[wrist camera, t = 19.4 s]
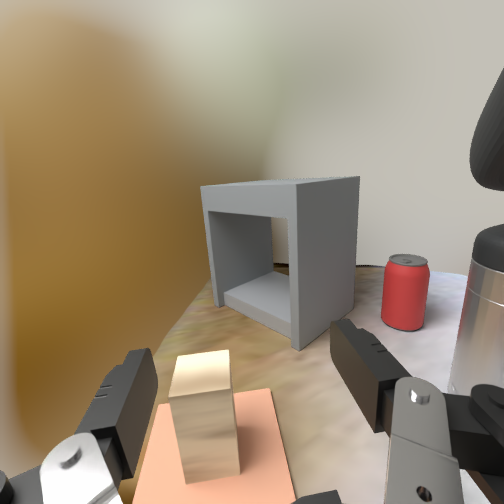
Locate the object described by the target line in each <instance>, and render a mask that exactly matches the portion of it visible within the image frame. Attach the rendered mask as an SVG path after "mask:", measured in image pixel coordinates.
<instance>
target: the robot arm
mask: <svg viewBox="0 0 504 504" xmlns="http://www.w3.org/2000/svg"><path fill="white" fill-rule="evenodd" d="M470 168H471V172H472V175H473V177H474V178H475V180H476V181H477V182H478V183H479V184H480V185H481V186H483V187H485V188H488V189H493V190H498V191H504V68H503V70H502V72H501V74H500V76H499V78H498V80H497V82H496V84H495V86H494V88H493V90H492V92H491V94H490V96H489V98H488V100H487V103H486V105H485V107H484V109H483V112H482V114H481V116H480V118H479V121H478V124H477V126H476V129H475V132H474V136H473V139H472V143H471V149H470ZM330 353H331V357H332V361H333V363H334V365H335V367H336V368H337V370H338V372H339V373H340V375H341V377H342V379H343V380H344V382H345V384H346V385H347V387H348V389H349V391H350V392H351V394H352V396H353V397H354V399H355V401H356V403H357V404H358V406H359V408H360V409H361V411H362V413H363V415H364V416H365V418H366V420H367V421H368V423H369V425H370V426H371V428H372V430H373V432H374V433H379V432H384V431H385V432H386V433H387V435H388V436H389V438H390V439H389V450H388V461H387V472H386V483H385V494H384V504H464V499H463V492H462V484H461V477H460V470H459V469H464V470H466V471H467V472H468V474H469V475H470V476H471V478H472V479H473V480H474V482H475V483H476V484H477V486H478V487H479V488H480V490H481V491H482V492H483V494H484V495H485V496H486V498H487V499H488V500H489V502H490V503H491V504H504V224H501V225H497V226H493V227H490V228H487V229H485V230H483V231H481V232H480V233H479V234H478V235H477V237H476V239H475V242H474V247H473V253H472V259H471V264H470V270H469V275H468V281H467V287H466V292H465V298H464V303H463V308H462V314H461V319H460V325H459V330H458V335H457V341H456V346H455V352H454V357H453V362H452V367H451V373H450V378H449V384H448V394H446V393H441V391H440V390H439V389H438V388H437V387H435V386H434V385H433V384H431V383H429V382H427V381H425V380H423V379H420V378H416V377H412V376H411V375H410V374H409V373H408V372H407V370H406V369H405V368H404V367H403V366H402V365H401V364H400V363H399V362H398V361H397V360H396V359H395V357H394V356H393V355H392V354H391V353H390V352H388V351H387V349H386V348H385V347H384V346H383V344H382V345H381V342H380V341H379V340H378V339H377V338H376V337H375V336H374V335H373V334H371V333H370V332H368V331H366V330H365V329H363V328H361V329H357V328H356V327H355V325H354V324H353V323H352V322H351V321H350V320H349V319H343V320H336V321H331V324H330ZM157 389H158V378H157V374H156V370H155V366H154V362H153V358H152V354H151V351H150V349H149V348H146V349H139V350H132V351H129V353H128V354H127V356H126V359H125V360H124V363H123V364H122V365H117V366H116V367H114V368H113V370H111V371H110V372H109V374H107V375H106V377H105V379H104V381H103V383H102V384H101V386H100V389H99V390H98V391H97V393H96V395H95V399H93V401H92V402H91V404H90V406H89V408H88V410H87V412H86V414H85V415H84V417H83V419H82V421H81V423H80V425H79V426H78V428H77V430H76V432H75V434H74V435H73V436H71V437H69V438H67V439H65V440H64V441H62V442H61V443H60V444H59V445H57V446H56V447H55V448H54V449H53V450H52V451H51V452H50V453H49V454H48V456H47V457H46V458H45V460H44V462H43V463H42V464H41V465H40V466H37V467H35V468H33V469H31V470H29V471H27V472H24V473H22V474H20V475H17V476H15V477H13V478H11V479H8V478H7V477H6V475H5V473H4V472H3V471H1V470H0V504H122V502H121V499H120V497H119V494H118V492H117V491H118V488H119V485H120V482H121V480H125V479H130V478H133V477H134V473H135V470H136V466H137V463H138V459H139V455H140V452H141V448H142V445H143V441H144V437H145V434H146V430H147V427H148V423H149V419H150V416H151V412H152V409H153V405H154V401H155V398H156V394H157ZM291 504H342V503H341V500H340V497H339V495H338V492H337V490H333V491H328V492H323V493H318V494H313V495H309V496H304V497H301V498H299V499H298V500H296V501H294V502H292V503H291Z"/></svg>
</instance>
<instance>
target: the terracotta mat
mask: <svg viewBox="0 0 504 504" xmlns="http://www.w3.org/2000/svg"><path fill="white" fill-rule="evenodd" d="M234 402H235V411H236V420H237V432H238V447H239V463H240V475H238V476H232V477H226V478H221V479H215V480H209V481H203V482H198V483H192V484H186V483H185V478H184V473H183V468H182V464H181V459H180V454H179V449H178V444H177V439H176V434H175V429H174V424H173V419H172V414H171V409H170V404H169V403H167V404H160V405H159V406H158V409H157V413H156V417H155V421H154V424H153V428H152V432H151V436H150V439H149V443H148V447H147V451H146V454H145V458H144V462H143V466H142V469H141V473H140V477H139V481H138V485H137V488H136V492H135V496H134V500H133V503H132V504H291V503H292V502H294V501H296V499H295V495H294V490H293V486H292V482H291V478H290V473H289V469H288V465H287V461H286V456H285V452H284V448H283V444H282V439H281V435H280V431H279V426H278V422H277V418H276V414H275V409H274V405H273V401H272V397H271V392H270V388H267V389H260V390H254V391H247V392H240V393H234Z"/></svg>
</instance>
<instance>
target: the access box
mask: <svg viewBox="0 0 504 504" xmlns="http://www.w3.org/2000/svg"><path fill="white" fill-rule="evenodd" d="M359 185H360V176H354V177H329V178H308V179H307V178H306V179H282V180H262V181H252V182H241V183H231V184H222V185H210V186H201V196H202V203H203V213H204V221H205V228H206V237H207V245H208V254H209V262H210V270H211V278H212V287H213V295H214V303H215V306H217V307H221V306H223V305H226V306H228V307H230V308H232V309H234V310H236V311H238V312H240V313H242V314H244V315H246V316H247V317H249V318H251V319H253V320H255V321H257V322H259V323H261V324H263V325H265V326H267V327H269V328H271V329H273V330H275V331H277V332H278V333H280V334H282V335H284V336H286V337H288V338H290V339H291V347H292V348H294V349H296V350H298V351H300V350H302V349H303V348H304V347H305V346H307V345H308V344H309V343H311V342H312V341H313V340H314V339H316V338H317V337H318V336H319V335H321V334H322V333H323V332H325V331H326V330H327V329H328V328H330V324H331V321H336V320H340V319H341V318H342V317H344V316H345V315H346V314H347V313H349V312H350V311H351V310H352V309H353V308H354V288H355V267H356V244H357V226H358V204H359ZM271 217H278V218H288V243H289V244H288V246H289V276H288V275H285V274H281V273H278V272H275V271H273V250H272V229H271Z"/></svg>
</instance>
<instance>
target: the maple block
mask: <svg viewBox="0 0 504 504" xmlns="http://www.w3.org/2000/svg"><path fill="white" fill-rule="evenodd" d="M168 399H169V404H170V409H171V414H172V419H173V424H174V429H175V434H176V439H177V444H178V449H179V454H180V459H181V464H182V468H183V473H184V478H185V483H186V484H192V483H198V482H203V481H209V480H215V479H221V478H226V477H232V476H238V475H240V463H239V447H238V432H237V420H236V411H235V402H234V393H233V384H232V375H231V366H230V357H229V350H222V351H214V352H207V353H199V354H191V355H184V356H178V358H177V362H176V367H175V371H174V375H173V379H172V383H171V388H170V392H169V396H168Z"/></svg>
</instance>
